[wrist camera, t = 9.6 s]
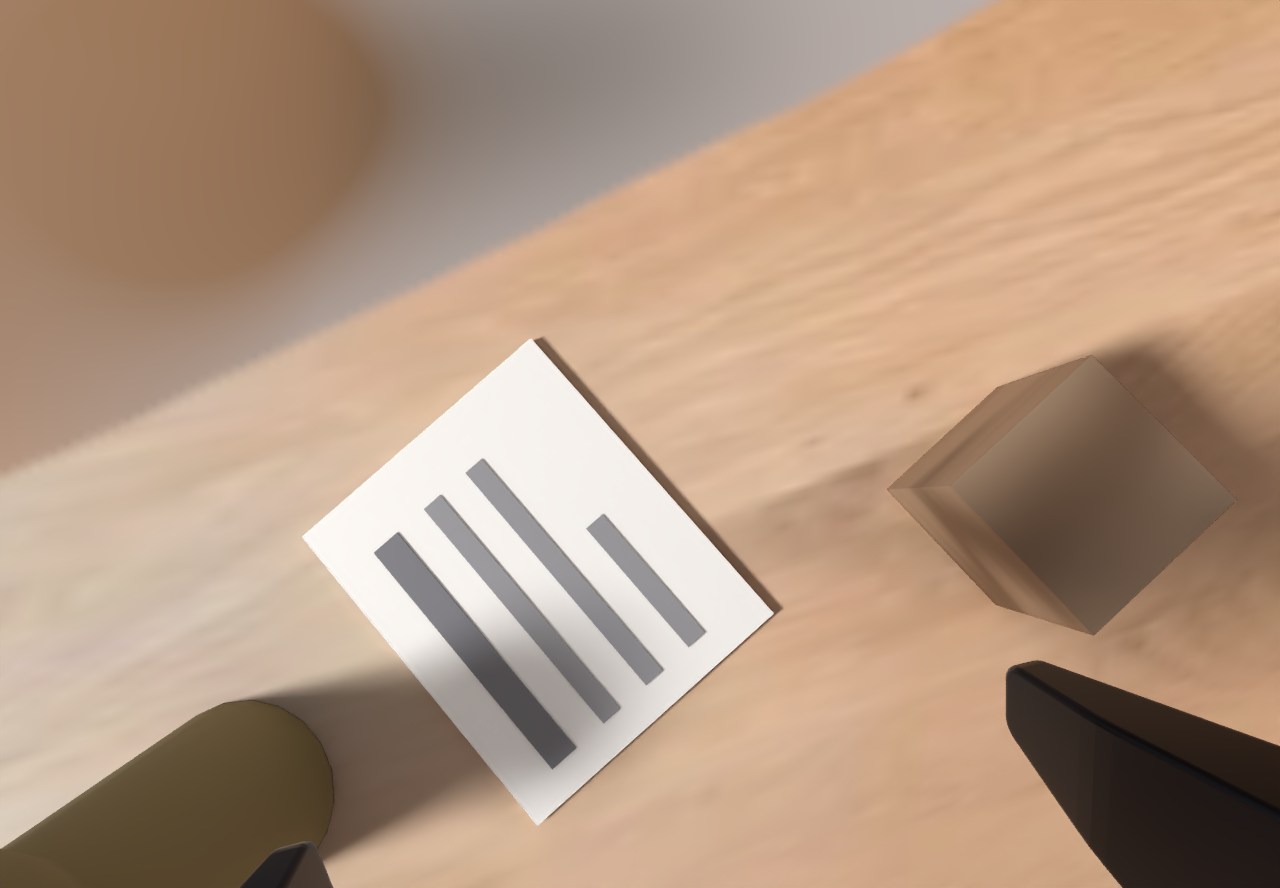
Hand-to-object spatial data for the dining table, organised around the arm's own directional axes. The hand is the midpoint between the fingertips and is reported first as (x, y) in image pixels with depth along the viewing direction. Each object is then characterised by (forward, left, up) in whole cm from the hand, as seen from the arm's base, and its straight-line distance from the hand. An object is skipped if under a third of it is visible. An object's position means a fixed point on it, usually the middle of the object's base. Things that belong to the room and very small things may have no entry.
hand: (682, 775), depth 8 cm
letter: (+4, +3, -13) cm, 14 cm away
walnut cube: (-4, -10, -14) cm, 18 cm away
